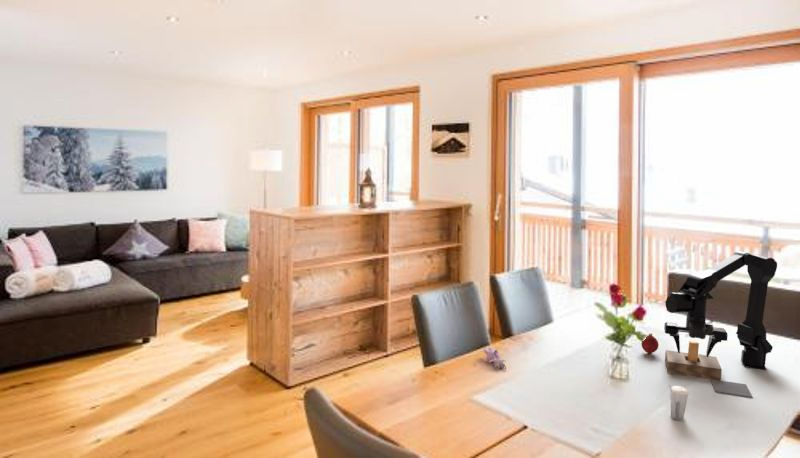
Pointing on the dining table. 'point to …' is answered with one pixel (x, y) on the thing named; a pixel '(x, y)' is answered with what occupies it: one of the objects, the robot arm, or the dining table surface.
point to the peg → (693, 351)
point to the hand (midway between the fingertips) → (692, 354)
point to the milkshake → (678, 402)
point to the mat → (731, 388)
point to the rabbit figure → (494, 358)
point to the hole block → (693, 365)
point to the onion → (650, 344)
